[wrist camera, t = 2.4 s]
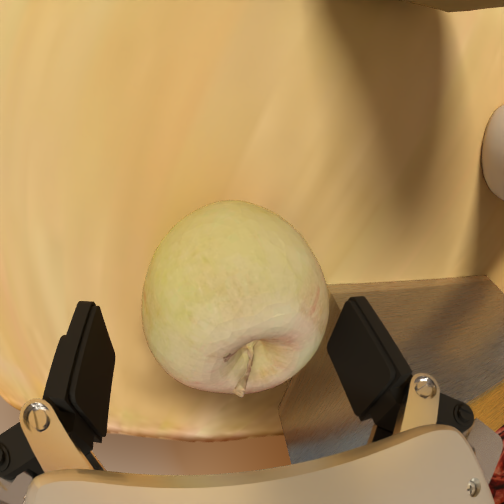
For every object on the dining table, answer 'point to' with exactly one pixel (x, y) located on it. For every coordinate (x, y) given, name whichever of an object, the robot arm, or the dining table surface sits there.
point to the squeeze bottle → (459, 4)
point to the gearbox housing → (415, 353)
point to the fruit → (234, 300)
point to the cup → (494, 153)
